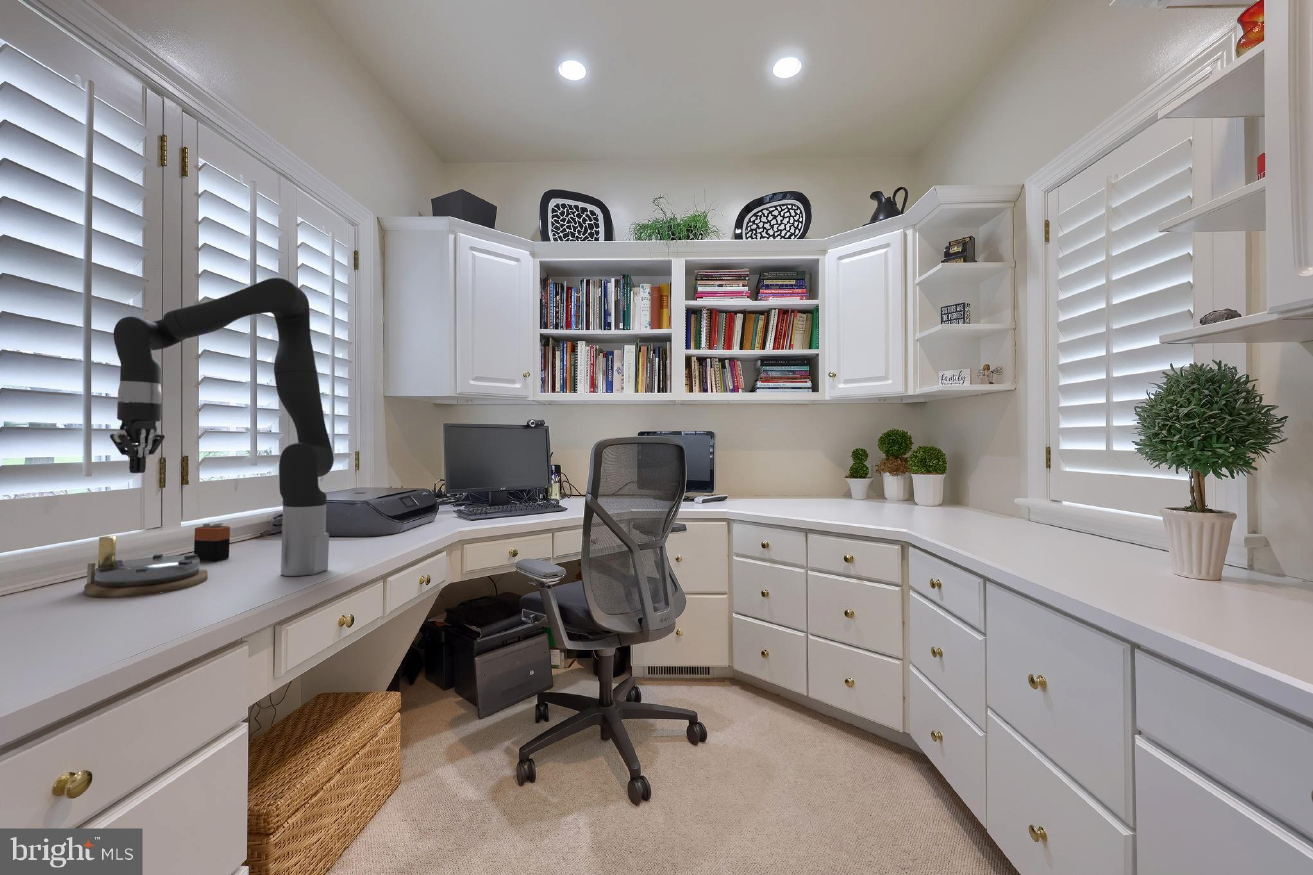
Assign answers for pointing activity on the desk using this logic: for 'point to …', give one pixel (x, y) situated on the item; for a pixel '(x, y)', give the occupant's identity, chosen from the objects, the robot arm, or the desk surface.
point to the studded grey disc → (140, 567)
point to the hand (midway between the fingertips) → (137, 472)
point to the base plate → (115, 592)
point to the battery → (212, 542)
